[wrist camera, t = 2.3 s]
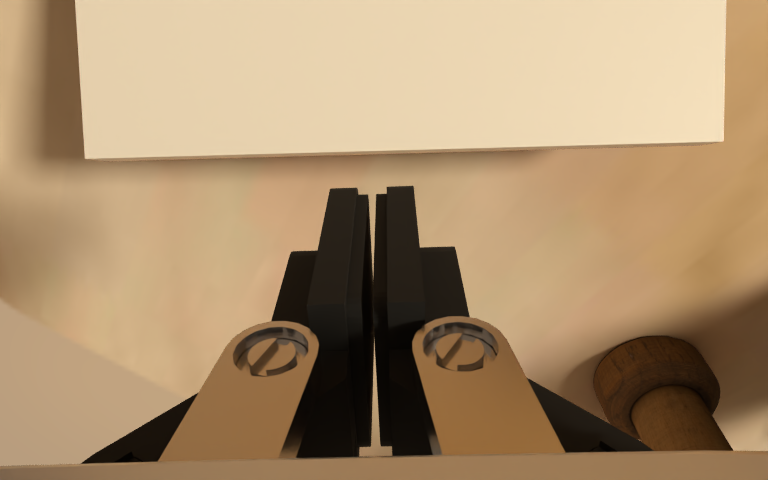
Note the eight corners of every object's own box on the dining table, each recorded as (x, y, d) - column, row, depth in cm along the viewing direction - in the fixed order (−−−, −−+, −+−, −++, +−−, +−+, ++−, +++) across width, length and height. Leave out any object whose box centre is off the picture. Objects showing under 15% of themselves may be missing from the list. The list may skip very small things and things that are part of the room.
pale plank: (700, 145, 23) (723, 141, 21) (106, 161, 24) (84, 158, 22) (704, -80, 22) (728, -102, 20) (93, -56, 23) (70, -75, 21)
